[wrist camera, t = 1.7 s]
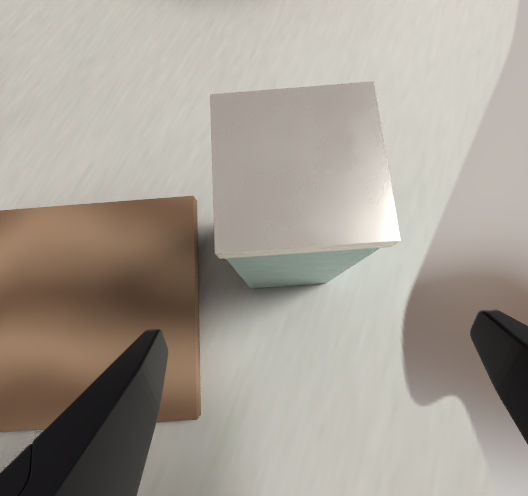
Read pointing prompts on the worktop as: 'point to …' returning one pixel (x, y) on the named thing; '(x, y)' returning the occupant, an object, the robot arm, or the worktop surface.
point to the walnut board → (95, 302)
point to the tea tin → (299, 182)
